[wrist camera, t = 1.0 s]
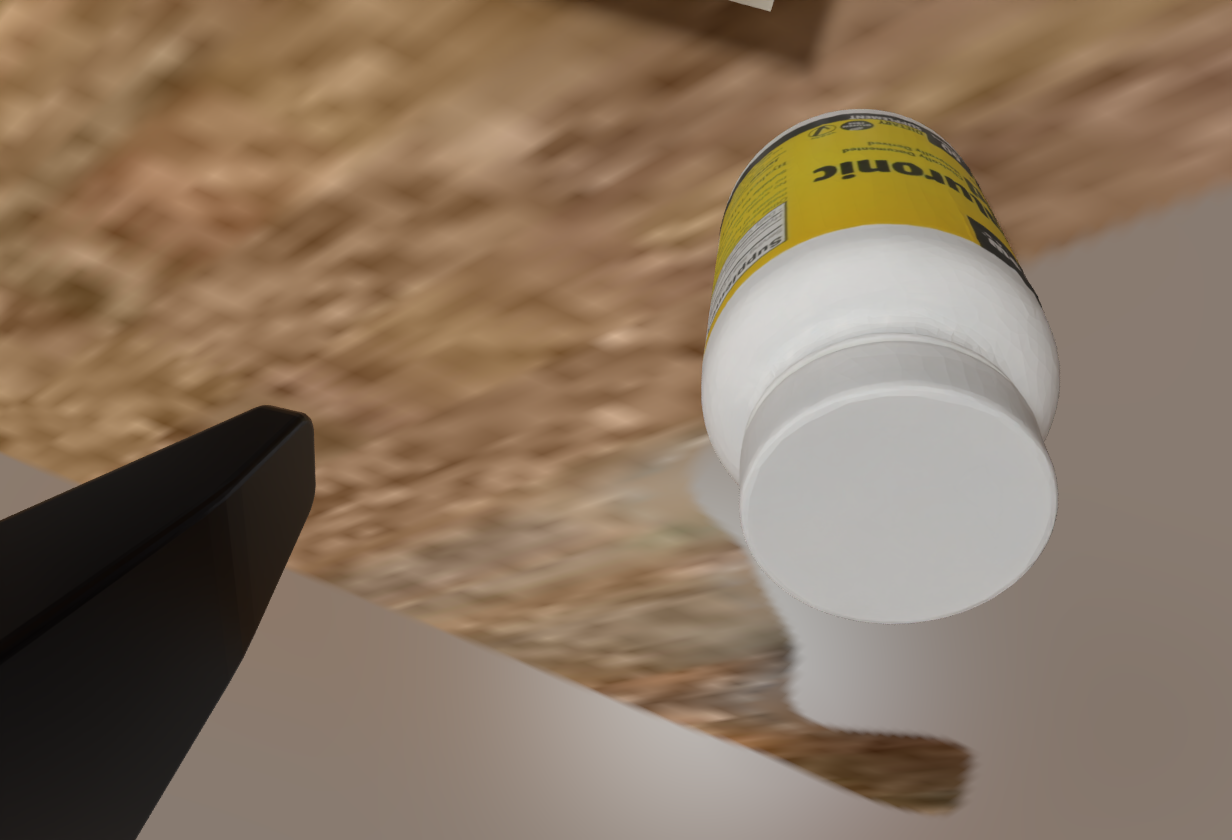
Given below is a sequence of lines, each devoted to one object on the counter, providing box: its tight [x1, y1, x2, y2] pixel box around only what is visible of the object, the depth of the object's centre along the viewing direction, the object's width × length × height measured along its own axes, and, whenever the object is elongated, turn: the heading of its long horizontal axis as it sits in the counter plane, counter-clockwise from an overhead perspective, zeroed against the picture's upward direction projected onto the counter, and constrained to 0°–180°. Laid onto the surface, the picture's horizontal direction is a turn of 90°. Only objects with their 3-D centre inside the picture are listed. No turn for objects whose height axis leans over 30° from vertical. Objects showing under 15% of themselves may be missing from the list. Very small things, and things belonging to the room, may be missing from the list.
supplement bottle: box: [702, 109, 1060, 624], centre depth 16 cm, size 5×5×10 cm
